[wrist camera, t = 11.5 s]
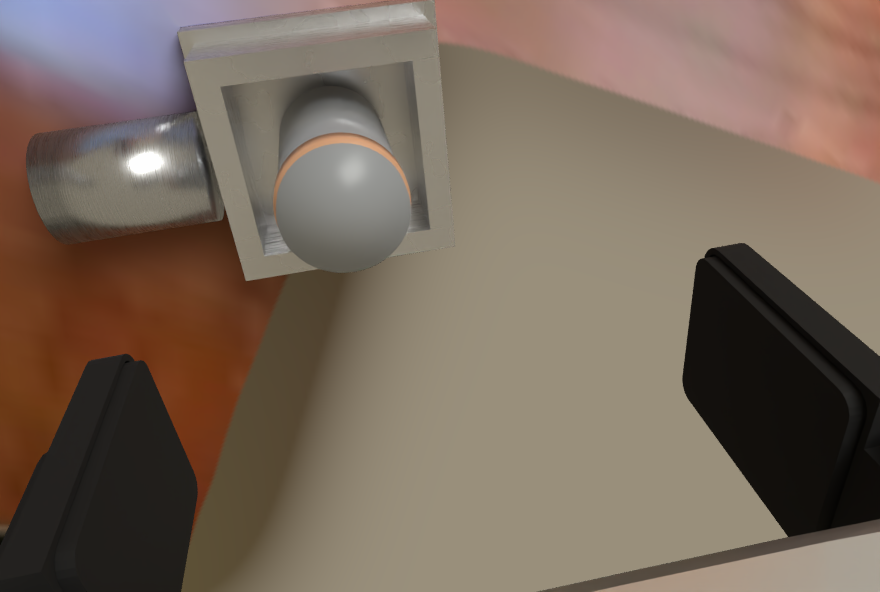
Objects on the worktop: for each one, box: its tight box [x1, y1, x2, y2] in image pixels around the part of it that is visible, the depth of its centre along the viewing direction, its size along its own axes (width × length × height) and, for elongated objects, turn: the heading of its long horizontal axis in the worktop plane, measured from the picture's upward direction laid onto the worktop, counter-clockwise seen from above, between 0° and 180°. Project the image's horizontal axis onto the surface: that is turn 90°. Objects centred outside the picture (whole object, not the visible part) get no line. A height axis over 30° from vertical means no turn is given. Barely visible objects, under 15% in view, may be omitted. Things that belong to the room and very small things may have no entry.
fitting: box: [26, 0, 455, 281], centre depth 28 cm, size 16×10×4 cm, turn 95°
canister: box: [273, 86, 411, 273], centre depth 26 cm, size 5×5×8 cm
